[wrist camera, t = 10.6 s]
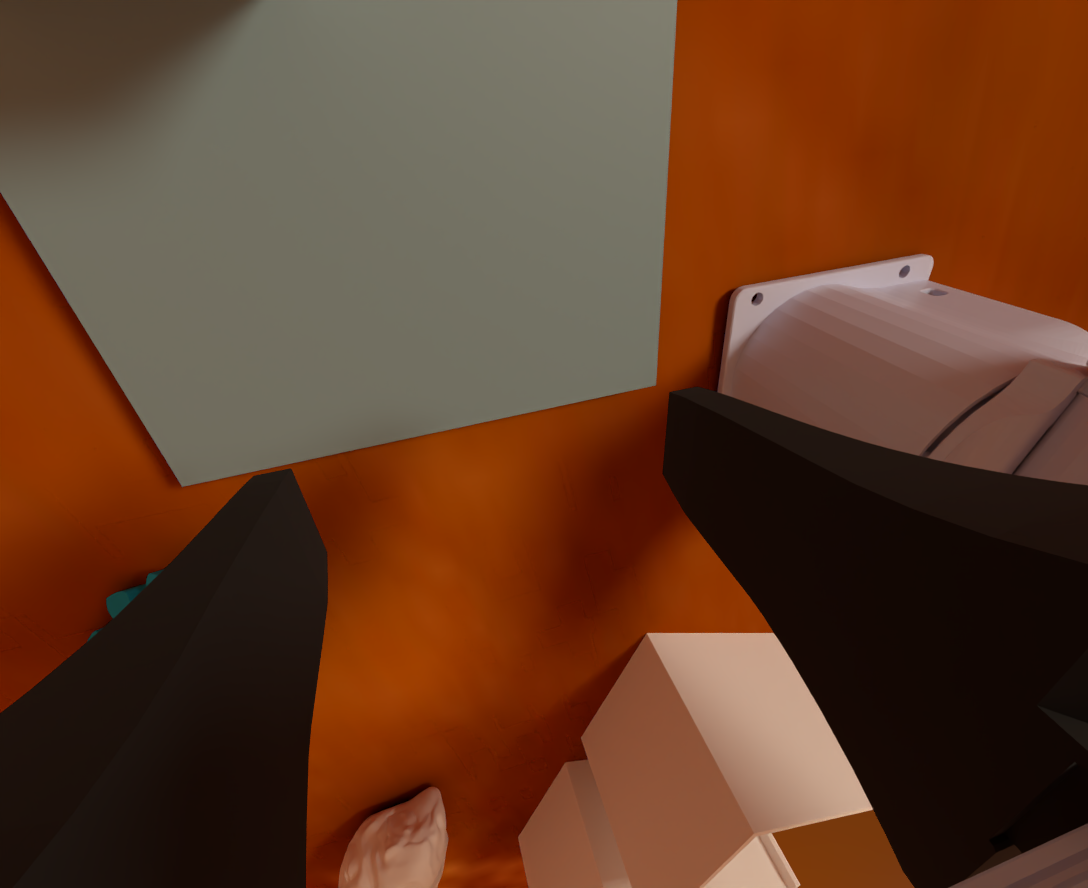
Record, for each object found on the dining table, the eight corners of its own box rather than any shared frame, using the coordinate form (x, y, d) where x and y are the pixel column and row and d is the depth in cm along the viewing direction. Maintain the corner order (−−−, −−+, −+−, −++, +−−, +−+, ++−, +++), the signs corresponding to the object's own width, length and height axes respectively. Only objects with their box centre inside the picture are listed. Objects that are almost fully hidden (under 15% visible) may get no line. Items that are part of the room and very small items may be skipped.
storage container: (645, 630, 31) (754, 833, 23) (771, 630, 36) (903, 799, 27) (517, 834, 42) (557, 1026, 33) (626, 815, 47) (687, 979, 38)
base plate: (678, -585, 10) (713, -662, 9) (642, 372, 21) (655, 385, 20) (-555, -811, 6) (-723, -979, 5) (192, 466, 18) (182, 486, 17)
